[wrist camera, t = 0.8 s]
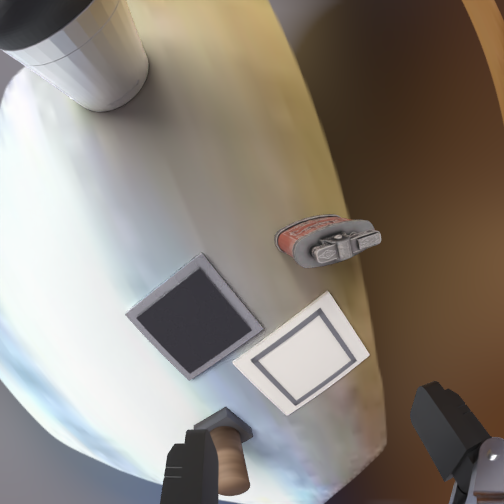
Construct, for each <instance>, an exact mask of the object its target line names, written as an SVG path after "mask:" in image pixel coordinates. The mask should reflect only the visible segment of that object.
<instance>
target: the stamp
mask: <svg viewBox="0 0 504 504" xmlns="http://www.w3.org/2000/svg"><path fill="white" fill-rule="evenodd" d="M197 429H208V430H209V433H210V435H211V438H212V440H213V443H214V445H215V448H216V450H217V454H218V461H219V478H218V494H220V495H225V496H234V495H239V494H242V493H244V492H246V491H247V490H248V489H249V488H250V482H249V478H248V473H247V468H246V464H245V459H244V454H243V449H242V443H243V442H245V441H247V440H249V439H251V438H252V437H253V434H252V430H251V427H249V426H248V425H247V424H246V423H245V422H243V421H242V420H241V419H240V418H238V417H237V416H236V415H235V414H234V413H233V412H231V411H230V410H229V409H228V408H227V407H224V408H223V409H221V410H219V411H218V412H216V413H214V414H213V415H211V416H209V417H208V418H206V419H204V420H203V421H201V422H199V423H197V424H196V425H194V430H197Z"/></svg>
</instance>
